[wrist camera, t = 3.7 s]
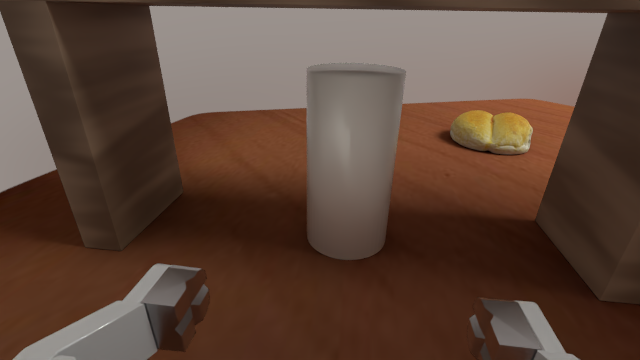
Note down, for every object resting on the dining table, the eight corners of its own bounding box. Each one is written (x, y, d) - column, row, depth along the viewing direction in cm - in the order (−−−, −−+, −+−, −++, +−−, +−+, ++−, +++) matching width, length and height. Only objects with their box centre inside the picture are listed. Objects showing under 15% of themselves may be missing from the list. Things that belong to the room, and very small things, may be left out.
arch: (570, 223, 25) (677, -39, 18) (650, 305, 18) (882, -76, 11) (155, 189, 29) (104, -39, 21) (85, 247, 22) (-28, -67, 14)
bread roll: (455, 129, 46) (461, 100, 45) (529, 141, 42) (539, 110, 41) (440, 146, 40) (447, 113, 38) (526, 163, 36) (537, 126, 34)
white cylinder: (383, 217, 25) (401, 64, 21) (386, 264, 21) (411, 79, 16) (313, 211, 26) (314, 62, 21) (300, 255, 21) (298, 75, 16)
